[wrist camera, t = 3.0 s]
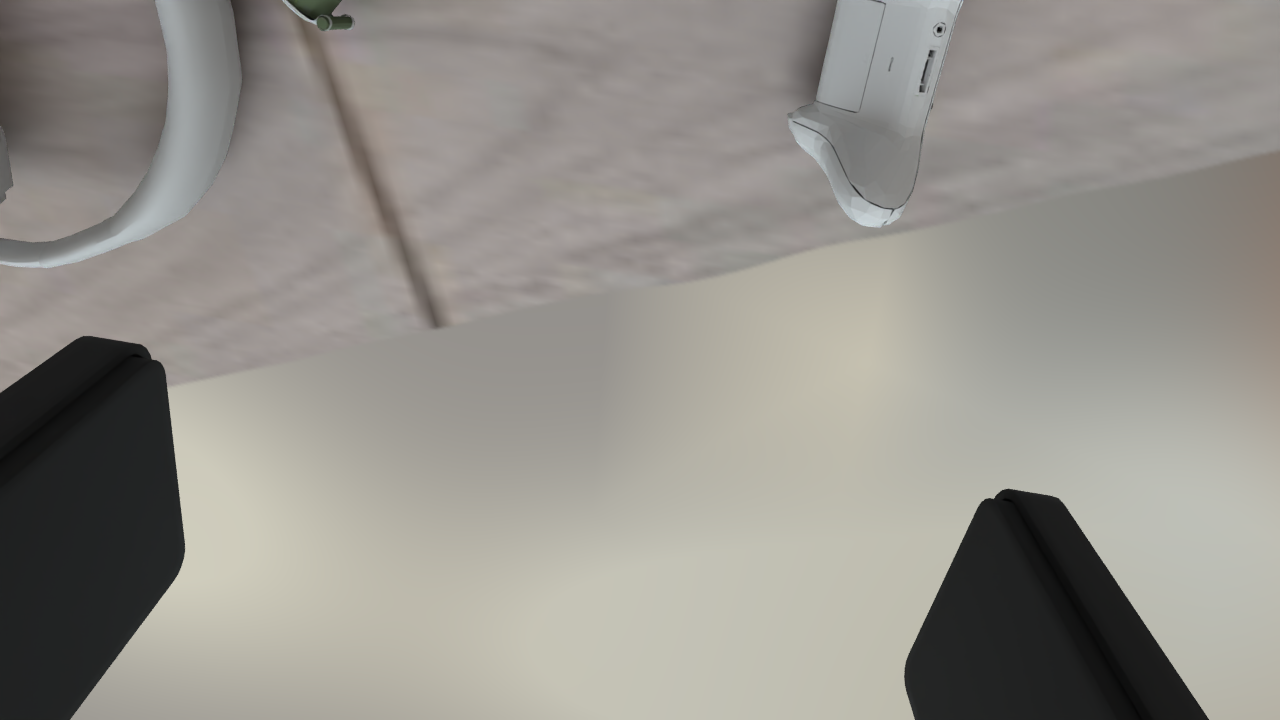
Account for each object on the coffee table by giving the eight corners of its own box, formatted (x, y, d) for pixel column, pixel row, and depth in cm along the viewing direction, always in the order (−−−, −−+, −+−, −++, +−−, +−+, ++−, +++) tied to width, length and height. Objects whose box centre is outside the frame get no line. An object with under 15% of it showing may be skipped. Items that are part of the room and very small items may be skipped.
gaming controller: (1062, -95, 23) (920, -100, 29) (948, -116, 22) (823, -117, 28) (955, 239, 28) (851, 178, 34) (856, 237, 27) (765, 175, 33)
